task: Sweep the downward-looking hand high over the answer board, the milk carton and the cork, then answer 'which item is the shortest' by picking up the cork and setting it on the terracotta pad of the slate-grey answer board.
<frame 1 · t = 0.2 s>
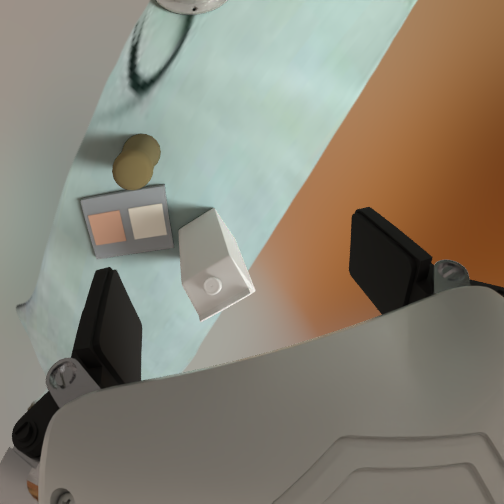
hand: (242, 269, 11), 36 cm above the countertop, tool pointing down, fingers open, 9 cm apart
cork: (141, 152, 42), on the countertop
milk carton: (206, 233, 51), on the countertop
answer board: (127, 222, 46), on the countertop
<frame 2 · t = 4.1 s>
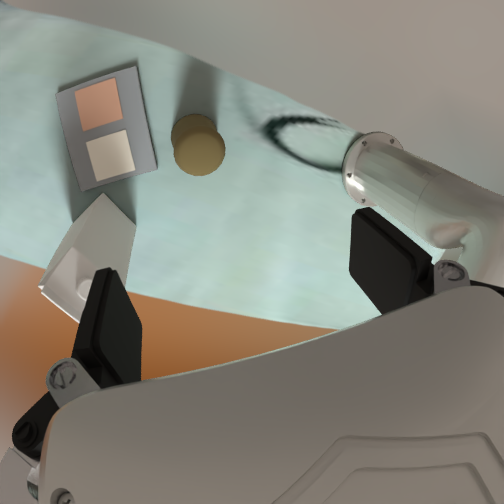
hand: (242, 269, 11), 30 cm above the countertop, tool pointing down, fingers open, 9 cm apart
cork: (194, 136, 36), on the countertop
milk carton: (104, 224, 39), on the countertop
answer board: (106, 129, 33), on the countertop
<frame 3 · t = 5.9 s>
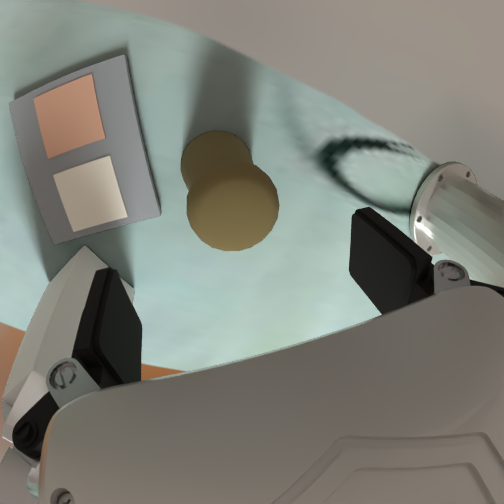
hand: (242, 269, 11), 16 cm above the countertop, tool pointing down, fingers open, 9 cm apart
cork: (216, 164, 25), on the countertop
milk carton: (90, 285, 28), on the countertop
answer board: (82, 153, 21), on the countertop
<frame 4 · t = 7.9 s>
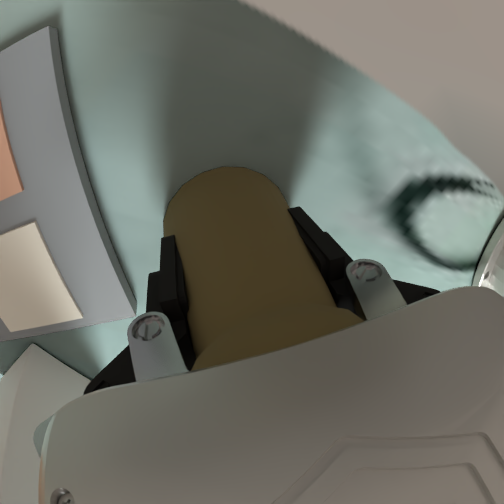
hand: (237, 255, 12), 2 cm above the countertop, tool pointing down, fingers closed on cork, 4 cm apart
cork: (227, 227, 14), on the countertop, touching gripper
milk carton: (53, 383, 17), on the countertop
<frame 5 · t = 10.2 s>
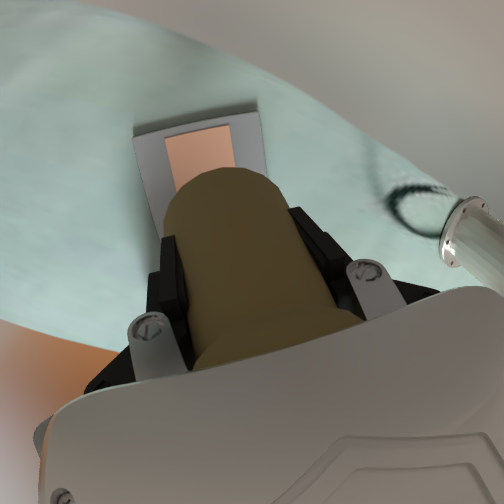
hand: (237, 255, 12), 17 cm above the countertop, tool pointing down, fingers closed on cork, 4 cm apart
cork: (227, 227, 14), point 14 cm above the countertop, touching gripper
answer board: (208, 194, 28), on the countertop
when the fingers open (5 cm above the countertop, at t = 12.6 s): cork drops 1 cm, resting on answer board.
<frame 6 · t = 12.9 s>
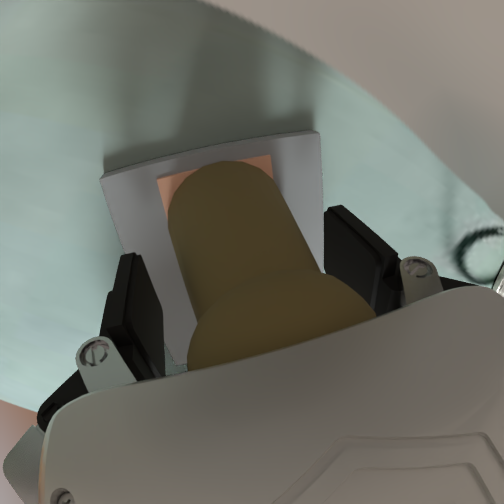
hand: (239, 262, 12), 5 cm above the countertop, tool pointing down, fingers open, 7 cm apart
cork: (226, 217, 15), point 1 cm above the countertop, touching answer board
answer board: (230, 262, 18), on the countertop
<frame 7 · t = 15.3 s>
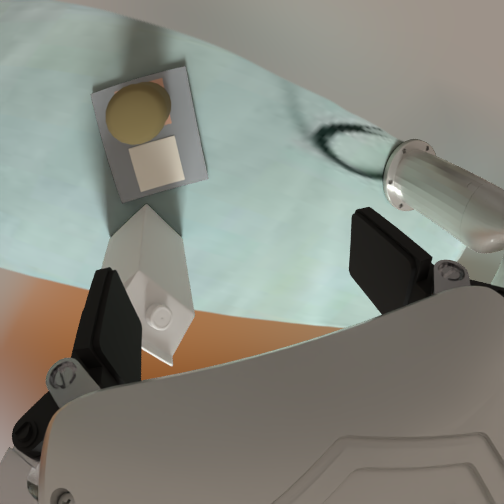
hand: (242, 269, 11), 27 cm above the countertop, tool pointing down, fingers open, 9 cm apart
cork: (144, 107, 29), point 1 cm above the countertop, touching answer board
milk carton: (146, 237, 38), on the countertop
answer board: (150, 134, 32), on the countertop
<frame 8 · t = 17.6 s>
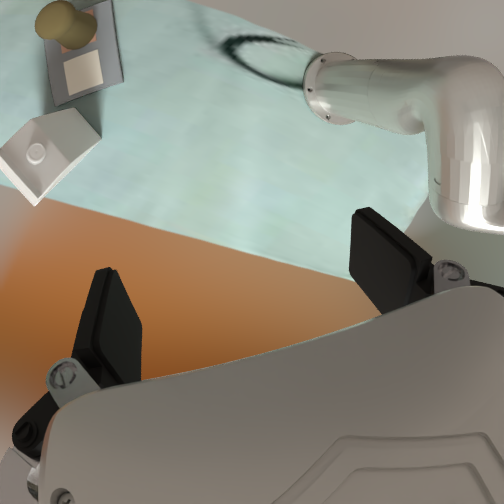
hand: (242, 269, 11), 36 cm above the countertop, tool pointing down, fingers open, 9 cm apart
cork: (78, 31, 28), point 1 cm above the countertop, touching answer board
milk carton: (73, 138, 37), on the countertop
answer board: (81, 52, 30), on the countertop
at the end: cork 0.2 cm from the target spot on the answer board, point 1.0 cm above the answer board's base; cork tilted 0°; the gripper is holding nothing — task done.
